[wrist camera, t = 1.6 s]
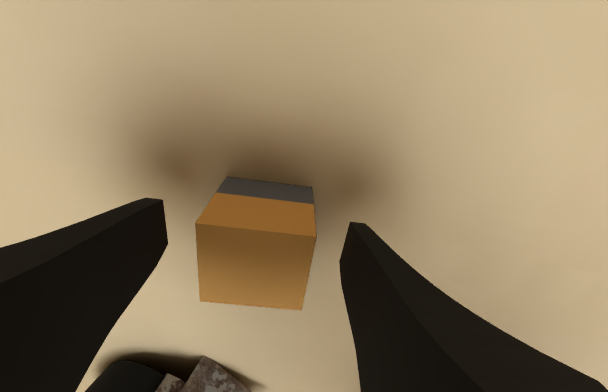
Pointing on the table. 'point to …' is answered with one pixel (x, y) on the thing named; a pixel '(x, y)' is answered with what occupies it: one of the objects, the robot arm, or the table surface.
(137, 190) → the table surface
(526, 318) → the table surface
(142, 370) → the caster wheel
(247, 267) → the block
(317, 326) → the table surface
